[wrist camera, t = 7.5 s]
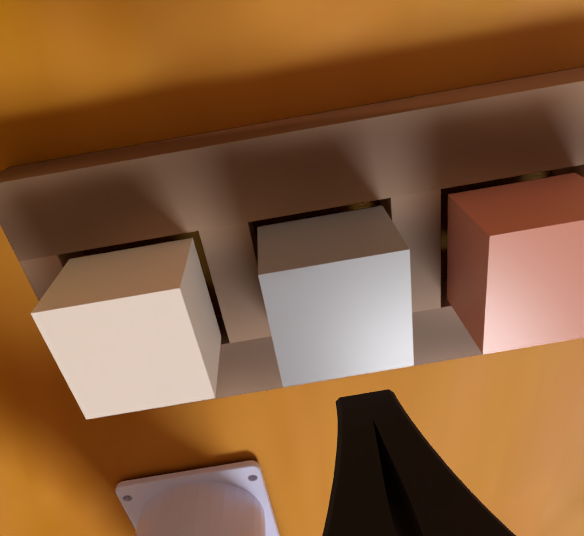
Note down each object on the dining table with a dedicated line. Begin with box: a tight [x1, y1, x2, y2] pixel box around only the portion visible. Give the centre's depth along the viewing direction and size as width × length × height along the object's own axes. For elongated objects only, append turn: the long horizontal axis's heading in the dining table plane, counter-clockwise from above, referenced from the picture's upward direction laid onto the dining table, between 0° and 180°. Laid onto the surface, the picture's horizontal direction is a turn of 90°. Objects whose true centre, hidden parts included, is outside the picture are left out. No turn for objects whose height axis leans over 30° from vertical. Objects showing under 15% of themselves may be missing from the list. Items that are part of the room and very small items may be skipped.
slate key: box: [257, 206, 414, 387], centre depth 17 cm, size 5×5×4 cm
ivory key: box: [31, 238, 221, 420], centre depth 17 cm, size 5×5×4 cm
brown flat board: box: [0, 67, 584, 418], centre depth 19 cm, size 11×22×2 cm, turn 99°
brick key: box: [447, 173, 584, 354], centre depth 17 cm, size 5×5×4 cm
